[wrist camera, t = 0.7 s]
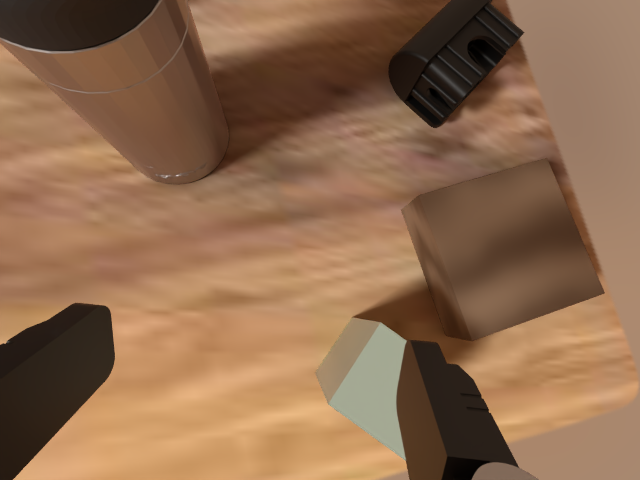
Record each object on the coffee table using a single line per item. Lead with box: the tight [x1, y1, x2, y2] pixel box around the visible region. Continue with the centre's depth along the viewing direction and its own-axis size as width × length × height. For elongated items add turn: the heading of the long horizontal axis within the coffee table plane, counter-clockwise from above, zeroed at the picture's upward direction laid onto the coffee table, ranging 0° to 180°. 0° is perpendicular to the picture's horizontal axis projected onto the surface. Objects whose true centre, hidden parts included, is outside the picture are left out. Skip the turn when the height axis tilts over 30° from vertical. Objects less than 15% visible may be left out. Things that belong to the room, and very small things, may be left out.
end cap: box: [389, 0, 524, 128], centre depth 34 cm, size 10×7×7 cm
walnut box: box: [401, 158, 605, 341], centre depth 32 cm, size 12×12×5 cm
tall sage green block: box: [315, 317, 407, 461], centre depth 26 cm, size 6×6×10 cm
